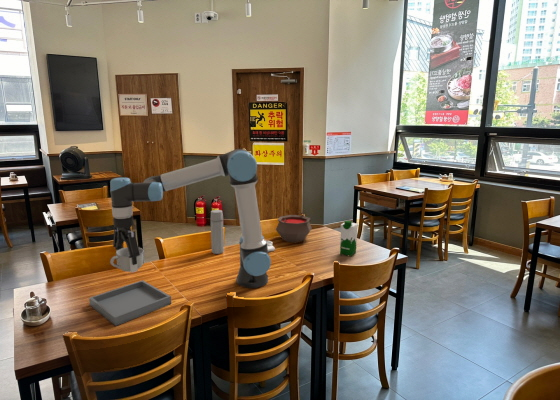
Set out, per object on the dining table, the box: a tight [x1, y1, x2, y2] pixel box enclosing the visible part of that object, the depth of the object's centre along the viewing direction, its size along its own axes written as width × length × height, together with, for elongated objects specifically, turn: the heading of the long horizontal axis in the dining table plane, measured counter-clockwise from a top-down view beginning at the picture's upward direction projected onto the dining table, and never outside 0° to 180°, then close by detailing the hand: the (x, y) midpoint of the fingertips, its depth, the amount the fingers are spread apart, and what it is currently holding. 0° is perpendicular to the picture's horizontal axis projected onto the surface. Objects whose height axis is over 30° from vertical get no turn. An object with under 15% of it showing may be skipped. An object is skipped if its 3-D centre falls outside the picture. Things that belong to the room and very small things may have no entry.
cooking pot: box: [275, 211, 312, 243], centre depth 245 cm, size 24×24×16 cm
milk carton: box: [339, 220, 359, 257], centre depth 219 cm, size 9×9×20 cm
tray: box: [88, 279, 172, 327], centre depth 159 cm, size 24×24×4 cm
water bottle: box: [210, 209, 225, 255], centre depth 220 cm, size 9×8×25 cm
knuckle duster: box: [266, 240, 276, 253], centre depth 227 cm, size 3×18×15 cm
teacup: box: [109, 247, 145, 273], centre depth 155 cm, size 14×11×8 cm
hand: (127, 267), depth 156 cm, fingers closed on teacup, 11 cm apart
